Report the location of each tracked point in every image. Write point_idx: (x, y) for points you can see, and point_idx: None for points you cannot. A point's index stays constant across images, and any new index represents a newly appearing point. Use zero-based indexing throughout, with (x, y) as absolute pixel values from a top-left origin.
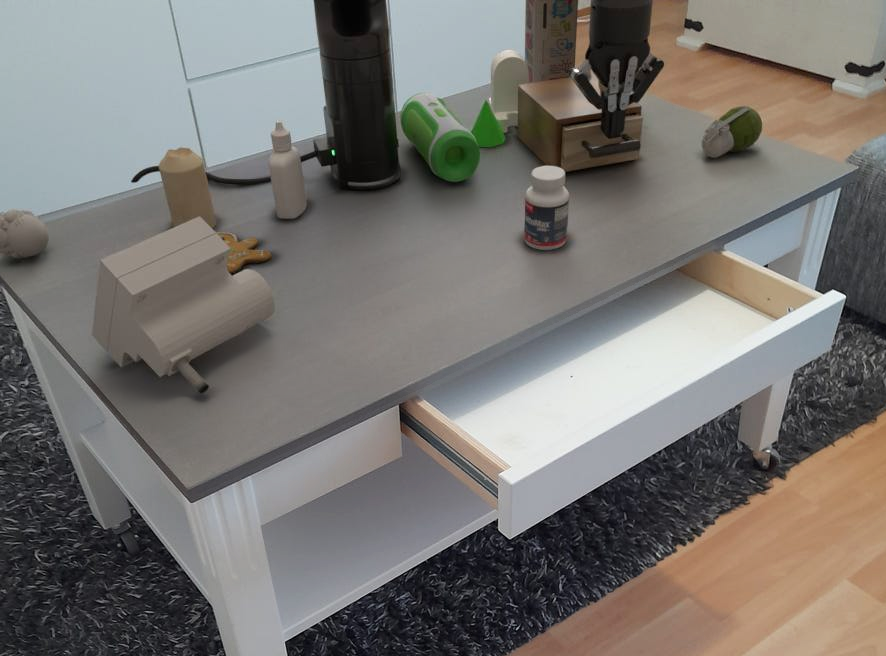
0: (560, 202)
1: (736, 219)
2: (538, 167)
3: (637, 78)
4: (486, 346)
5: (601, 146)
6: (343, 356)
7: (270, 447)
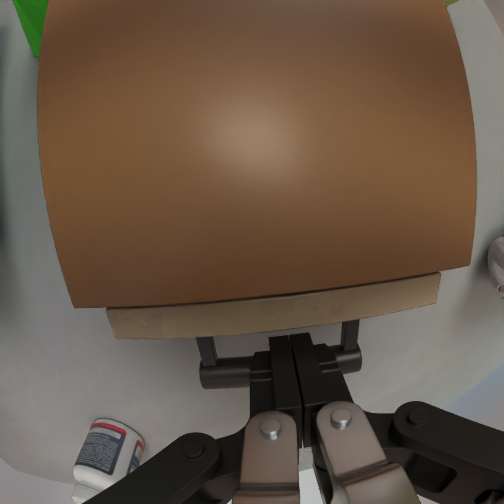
0: None
1: None
2: (77, 498)
3: (457, 477)
4: None
5: (234, 384)
6: (20, 453)
7: (25, 472)
